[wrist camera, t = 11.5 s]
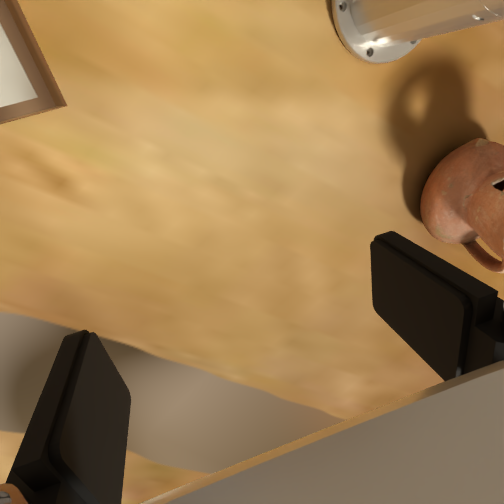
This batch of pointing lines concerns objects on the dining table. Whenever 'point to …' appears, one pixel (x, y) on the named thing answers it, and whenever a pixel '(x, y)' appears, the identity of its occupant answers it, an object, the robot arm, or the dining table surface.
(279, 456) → the robot arm
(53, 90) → the walnut picture frame
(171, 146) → the dining table surface
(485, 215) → the ceramic jug
